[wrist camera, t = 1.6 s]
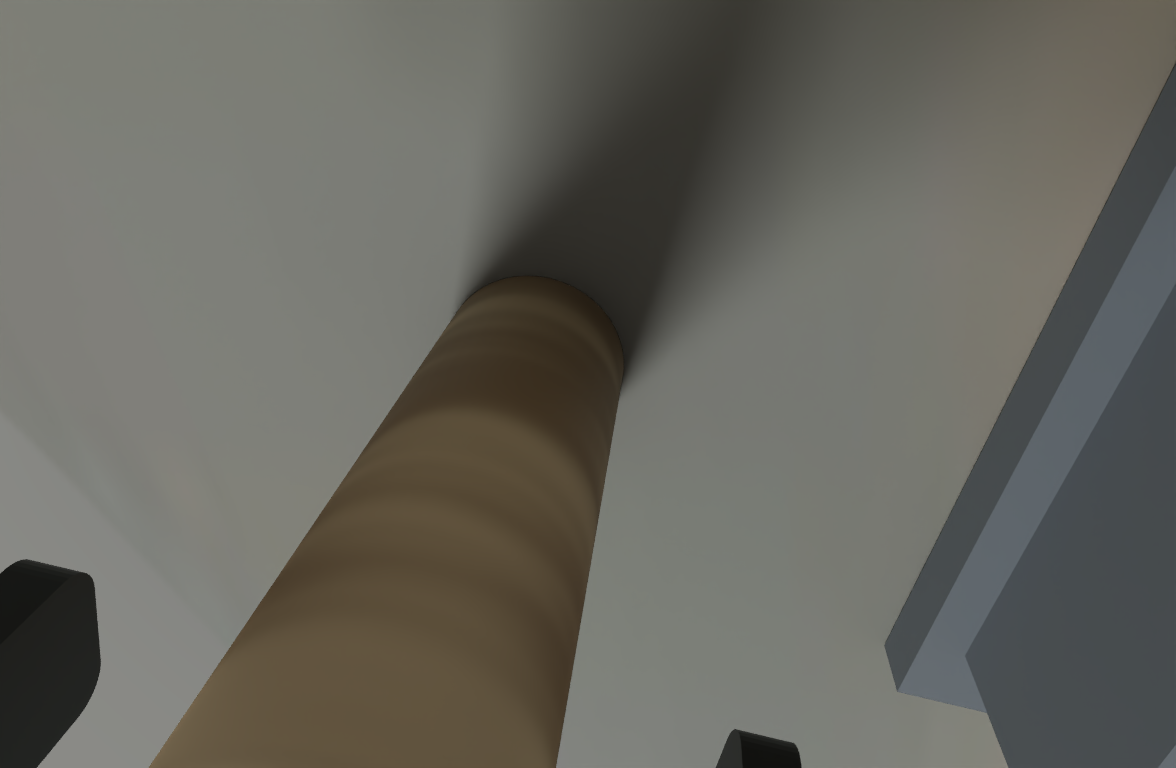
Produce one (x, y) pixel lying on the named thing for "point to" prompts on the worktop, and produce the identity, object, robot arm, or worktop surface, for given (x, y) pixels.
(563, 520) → the oak peg
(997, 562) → the socket block
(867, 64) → the worktop surface
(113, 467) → the worktop surface
